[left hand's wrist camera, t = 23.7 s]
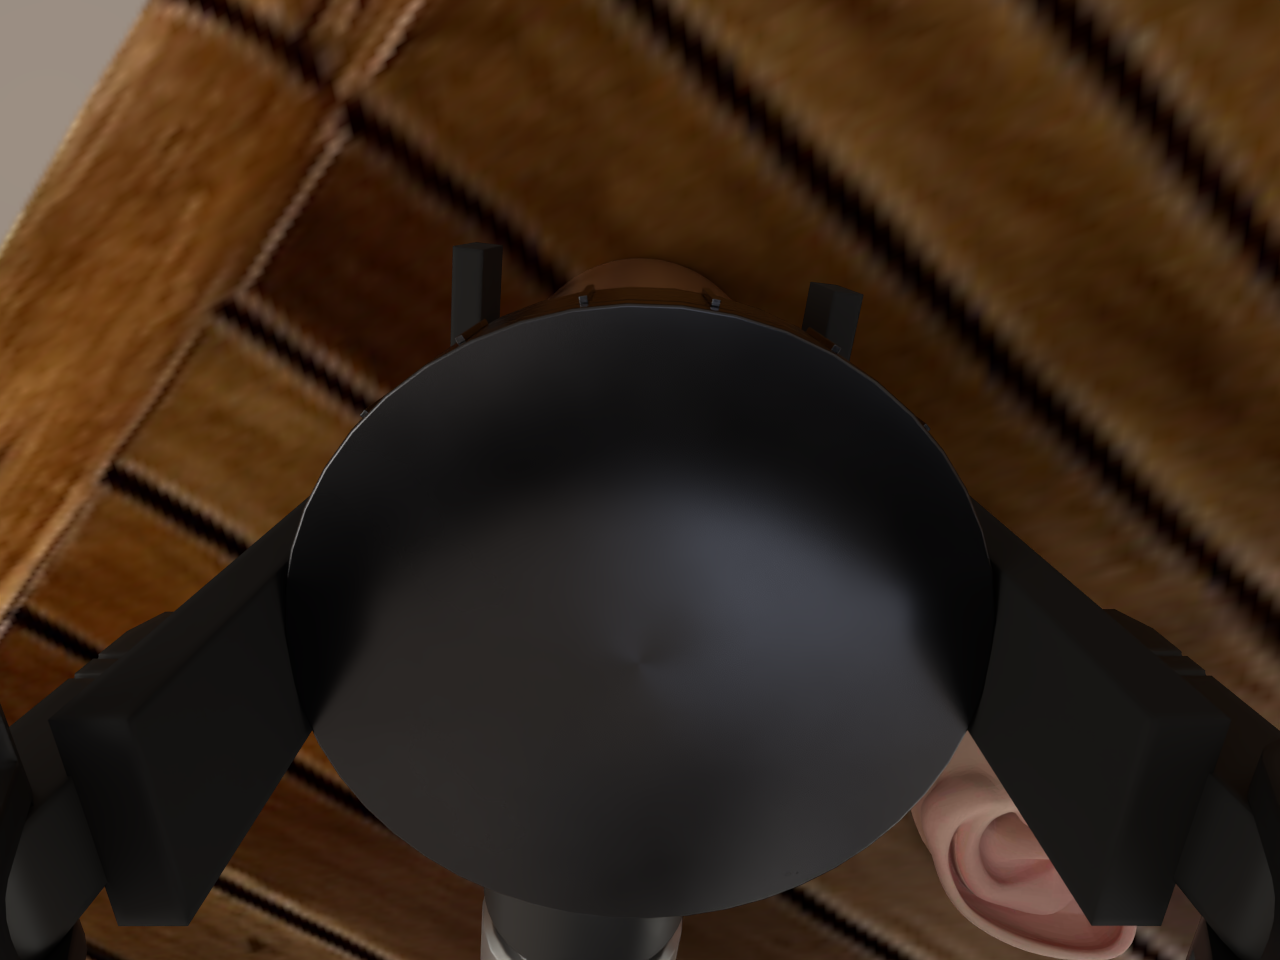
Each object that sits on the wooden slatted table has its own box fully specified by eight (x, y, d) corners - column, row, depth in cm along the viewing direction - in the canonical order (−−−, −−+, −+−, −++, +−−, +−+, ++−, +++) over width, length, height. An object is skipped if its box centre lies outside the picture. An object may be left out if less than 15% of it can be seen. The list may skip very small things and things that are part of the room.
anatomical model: (986, 701, 27) (1272, 744, 28) (944, 642, 31) (1197, 681, 32) (884, 951, 32) (1132, 982, 32) (858, 873, 35) (1081, 902, 36)
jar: (795, 430, 28) (1011, 731, 12) (592, 526, 29) (533, 916, 13) (695, 211, 25) (795, 206, 9) (476, 329, 26) (220, 510, 10)
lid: (558, 894, 14) (545, 1001, 12) (209, 500, 12) (118, 558, 10) (1029, 673, 13) (1101, 758, 11) (757, 138, 10) (787, 119, 8)
